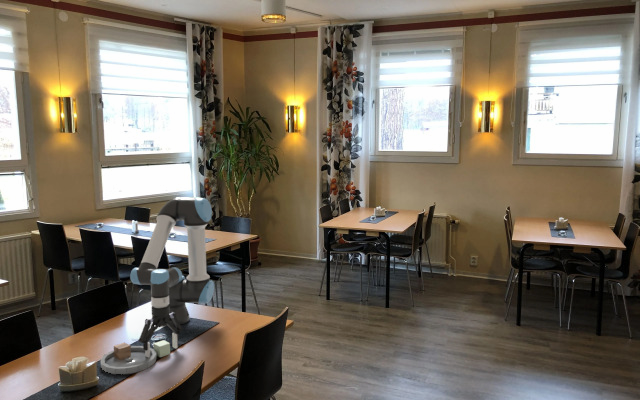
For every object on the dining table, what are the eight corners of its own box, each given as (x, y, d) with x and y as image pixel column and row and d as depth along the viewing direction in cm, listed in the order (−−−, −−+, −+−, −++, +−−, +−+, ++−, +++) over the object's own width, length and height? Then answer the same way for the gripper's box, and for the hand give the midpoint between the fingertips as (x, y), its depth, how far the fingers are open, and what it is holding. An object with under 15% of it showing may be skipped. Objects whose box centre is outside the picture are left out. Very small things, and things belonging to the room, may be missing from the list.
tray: (91, 363, 220) (91, 357, 220) (139, 347, 237) (138, 341, 237) (117, 379, 206) (117, 373, 206) (166, 361, 223) (166, 355, 222)
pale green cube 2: (154, 354, 230) (153, 343, 229) (164, 350, 234) (163, 340, 233) (160, 357, 227) (159, 346, 226) (170, 353, 230) (169, 343, 230)
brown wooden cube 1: (114, 357, 225) (113, 345, 224) (125, 353, 228) (124, 342, 228) (120, 360, 222) (119, 349, 221) (131, 356, 225) (130, 345, 225)
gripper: (138, 314, 215) (140, 363, 218) (189, 300, 234) (190, 346, 237) (129, 310, 220) (130, 358, 223) (180, 297, 239) (180, 341, 242)
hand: (161, 352), depth 230 cm, fingers open, 13 cm apart
